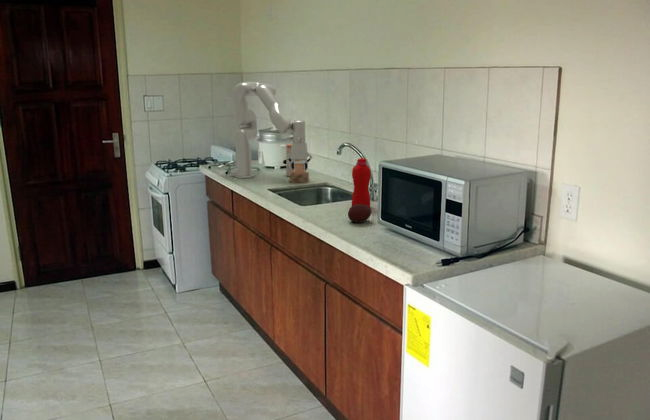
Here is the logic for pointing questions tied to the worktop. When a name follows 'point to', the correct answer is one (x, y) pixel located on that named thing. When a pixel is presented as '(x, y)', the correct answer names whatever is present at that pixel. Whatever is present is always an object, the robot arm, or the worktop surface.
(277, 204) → the worktop surface
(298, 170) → the terracotta block
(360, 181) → the water bottle
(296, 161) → the cracker box
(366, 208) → the potato
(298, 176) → the walnut base
